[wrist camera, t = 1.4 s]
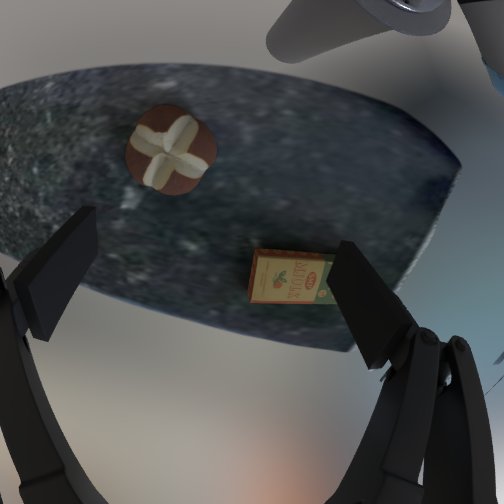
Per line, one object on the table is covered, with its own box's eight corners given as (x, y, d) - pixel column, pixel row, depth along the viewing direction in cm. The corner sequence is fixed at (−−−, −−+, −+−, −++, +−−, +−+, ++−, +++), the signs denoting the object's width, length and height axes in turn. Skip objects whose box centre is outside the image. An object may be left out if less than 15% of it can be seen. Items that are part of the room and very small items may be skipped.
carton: (253, 242, 43) (257, 256, 39) (347, 250, 46) (358, 262, 42) (246, 288, 47) (249, 304, 43) (334, 291, 50) (343, 305, 46)
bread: (164, 92, 31) (156, 89, 26) (230, 144, 35) (232, 148, 31) (114, 159, 34) (101, 166, 30) (177, 206, 38) (172, 219, 34)
